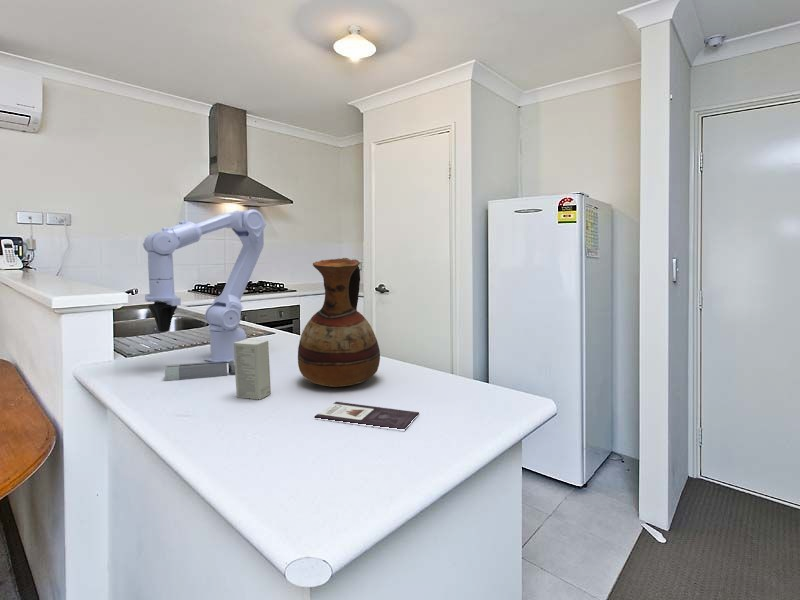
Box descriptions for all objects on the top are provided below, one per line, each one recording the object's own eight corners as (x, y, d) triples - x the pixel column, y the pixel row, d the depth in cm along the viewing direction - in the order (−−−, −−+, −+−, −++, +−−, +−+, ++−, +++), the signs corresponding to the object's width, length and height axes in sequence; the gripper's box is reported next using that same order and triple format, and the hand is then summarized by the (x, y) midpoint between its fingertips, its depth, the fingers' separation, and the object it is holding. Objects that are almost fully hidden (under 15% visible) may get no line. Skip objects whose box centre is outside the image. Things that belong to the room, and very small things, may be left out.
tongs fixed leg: (241, 370, 122) (241, 358, 122) (242, 374, 119) (241, 361, 119) (167, 376, 116) (166, 363, 116) (165, 380, 113) (164, 366, 113)
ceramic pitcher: (284, 390, 106) (281, 258, 102) (315, 368, 126) (314, 256, 122) (368, 395, 102) (368, 259, 99) (386, 372, 122) (387, 257, 119)
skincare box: (271, 394, 103) (270, 340, 101) (259, 400, 99) (257, 344, 97) (247, 391, 105) (246, 338, 104) (234, 397, 101) (232, 342, 99)
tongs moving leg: (227, 374, 119) (226, 362, 119) (227, 375, 118) (226, 364, 117) (166, 379, 114) (165, 367, 114) (165, 380, 113) (164, 368, 112)
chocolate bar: (404, 429, 82) (314, 416, 88) (404, 434, 83) (314, 421, 88) (419, 412, 91) (336, 401, 97) (418, 417, 91) (336, 406, 97)
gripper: (132, 278, 121) (135, 330, 122) (159, 281, 112) (162, 336, 114) (159, 277, 126) (162, 326, 128) (187, 279, 118) (190, 332, 119)
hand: (164, 331), depth 121 cm, fingers closed
